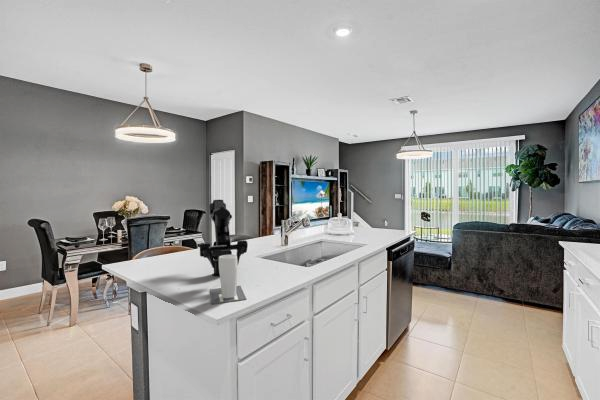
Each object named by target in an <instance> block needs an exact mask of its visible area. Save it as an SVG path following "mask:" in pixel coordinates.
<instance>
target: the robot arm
mask: <svg viewBox="0 0 600 400" xmlns="http://www.w3.org/2000/svg"><path fill="white" fill-rule="evenodd" d="M208 206H209V207H208V211H209V215H210V219H211V221H212V222H213V224H214V236H215V241H214V242H213V245H211V243H210V242H206V243H200V244H199V257H200V258H205V259H207V260H208V262H209V263H210V265H211V267H212V269H213V273H212V274H211V275H212V276H217V277H220V274H219V257H220V256H222V255H233V254H232V252H233V251H234V250H236V255H237V263H238V264H239V263H240V258H241V256H242V255H244V254H246V253H247V251H248V246H249V244H248V241H247V240H237V243H236V244H232V243H231V236H230V235H231V234H230V227H229V226H230V221H231V219H232V218H233V215H232V214H231V212H230V211H229V209H227V204H226V202H224V199H213V200H212V202H211V203H210V204H209V205H208Z"/></svg>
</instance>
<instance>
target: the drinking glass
mask: <svg viewBox="0 0 600 400" xmlns="http://www.w3.org/2000/svg"><path fill="white" fill-rule="evenodd" d="M238 266H239V263H237V254H232V255H222V256H220V257H219V274H220V276H219V280H220V288H221V292H222V297H223V298H226V299H229V298H233V297H235V296H236V286H238V285H237V284H238V283H237V281H238V269H239V267H238Z"/></svg>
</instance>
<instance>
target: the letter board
mask: <svg viewBox="0 0 600 400" xmlns="http://www.w3.org/2000/svg"><path fill="white" fill-rule="evenodd" d="M209 292H210V299H211V300H210V301H211V305H219V304H225V303H226V304H227V303H233V302H238V301H246V300H247V297H246V295H245V293H244V290H243V288H242V286H241V285H237V286H236V296H235V297H233V298H229V299H226V298H223V297H222V292H221V287H219V288H218V287H217V288H210V289H209Z"/></svg>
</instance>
